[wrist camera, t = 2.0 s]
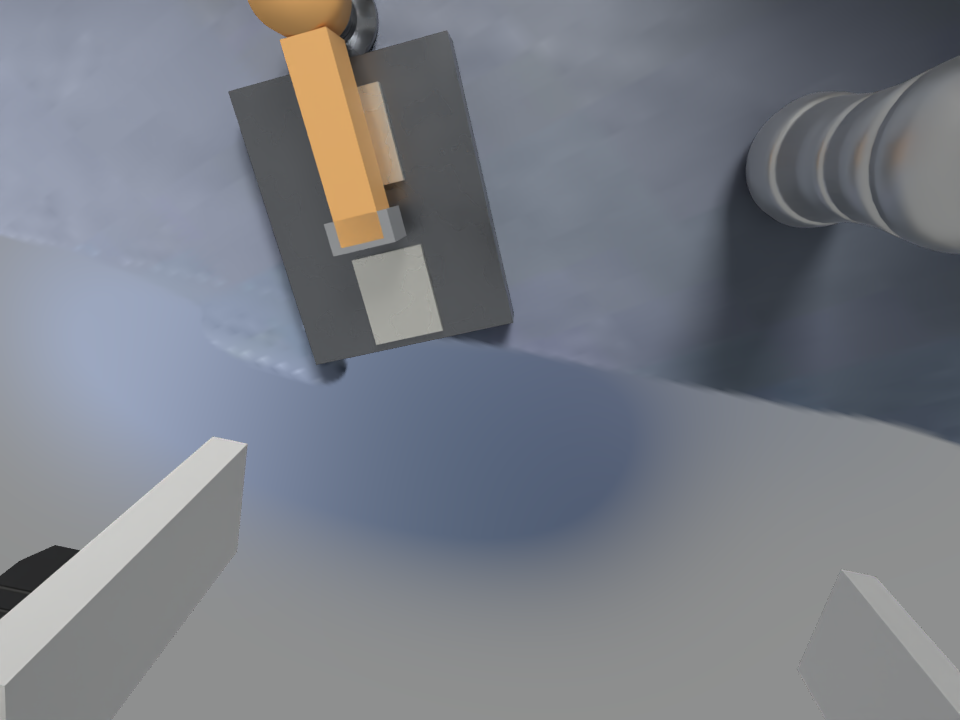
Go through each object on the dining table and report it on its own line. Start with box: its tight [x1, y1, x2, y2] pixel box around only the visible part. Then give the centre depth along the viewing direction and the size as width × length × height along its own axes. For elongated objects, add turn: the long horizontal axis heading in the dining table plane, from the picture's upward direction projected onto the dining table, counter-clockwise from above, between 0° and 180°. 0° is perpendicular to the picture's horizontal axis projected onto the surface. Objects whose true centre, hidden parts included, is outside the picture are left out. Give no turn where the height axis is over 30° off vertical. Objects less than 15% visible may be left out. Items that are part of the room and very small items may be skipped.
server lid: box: [229, 31, 514, 365], centre depth 35 cm, size 16×12×3 cm
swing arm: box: [248, 0, 407, 257], centre depth 30 cm, size 14×4×3 cm, turn 13°
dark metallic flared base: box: [340, 0, 378, 58], centre depth 32 cm, size 5×5×4 cm
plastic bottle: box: [746, 55, 960, 254], centre depth 25 cm, size 6×7×20 cm
